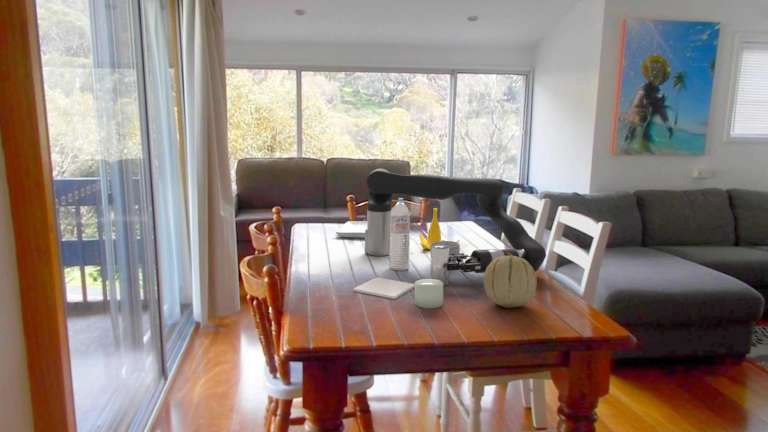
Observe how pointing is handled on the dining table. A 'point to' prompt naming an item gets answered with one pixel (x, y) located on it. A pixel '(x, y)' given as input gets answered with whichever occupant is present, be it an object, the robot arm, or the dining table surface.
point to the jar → (429, 293)
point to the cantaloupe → (510, 281)
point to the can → (440, 263)
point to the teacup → (453, 246)
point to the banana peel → (432, 232)
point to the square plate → (353, 229)
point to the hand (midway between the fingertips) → (441, 263)
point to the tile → (384, 288)
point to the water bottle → (400, 236)
